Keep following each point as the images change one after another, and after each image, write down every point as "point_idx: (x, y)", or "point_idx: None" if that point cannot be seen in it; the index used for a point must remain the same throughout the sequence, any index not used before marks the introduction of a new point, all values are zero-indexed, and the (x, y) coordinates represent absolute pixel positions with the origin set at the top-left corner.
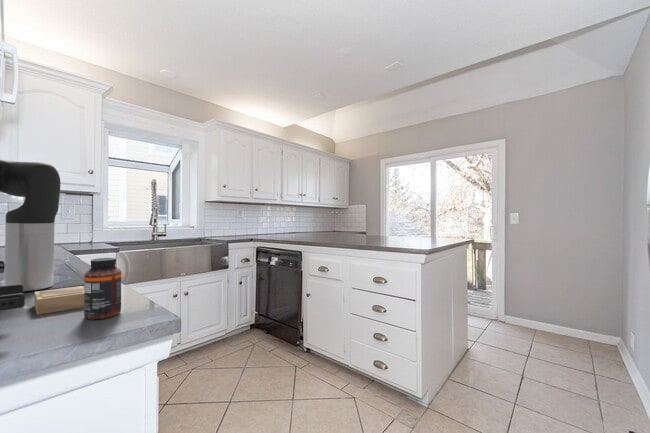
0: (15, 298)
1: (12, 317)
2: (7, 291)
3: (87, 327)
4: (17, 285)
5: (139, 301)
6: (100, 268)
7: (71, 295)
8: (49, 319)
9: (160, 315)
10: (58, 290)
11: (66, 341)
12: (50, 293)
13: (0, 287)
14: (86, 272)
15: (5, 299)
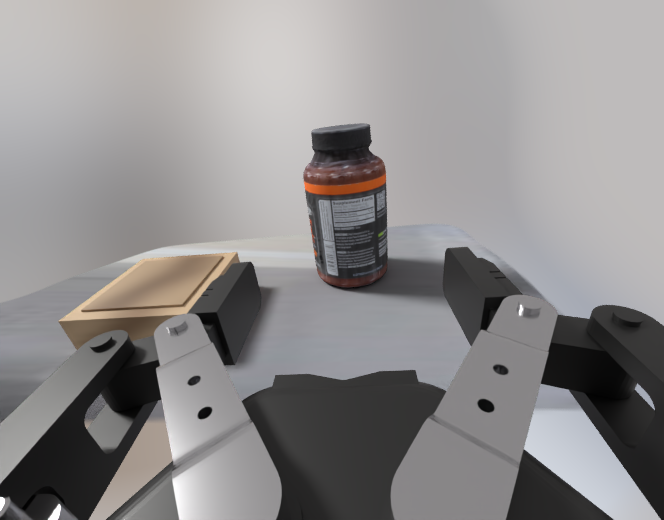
0: (493, 264)
1: (157, 403)
2: (242, 303)
3: (428, 288)
4: (245, 267)
5: (297, 240)
6: (366, 150)
7: (223, 271)
8: (289, 334)
9: (420, 230)
10: (136, 283)
11: None
12: (153, 293)
13: (227, 297)
14: (341, 170)
15: (499, 279)
